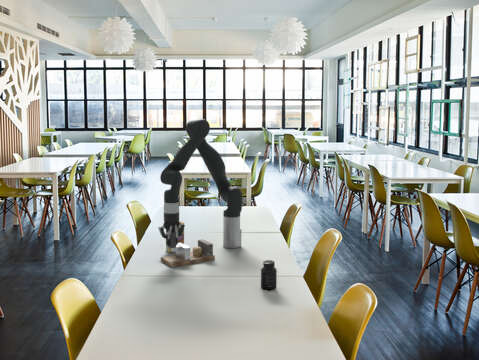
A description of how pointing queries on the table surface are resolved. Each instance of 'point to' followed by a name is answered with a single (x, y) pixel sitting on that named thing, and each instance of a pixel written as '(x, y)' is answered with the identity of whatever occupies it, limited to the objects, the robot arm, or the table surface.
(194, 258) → the board
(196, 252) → the walnut
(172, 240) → the jaw
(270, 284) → the supplement bottle
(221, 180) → the robot arm
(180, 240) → the candy box
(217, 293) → the table surface
